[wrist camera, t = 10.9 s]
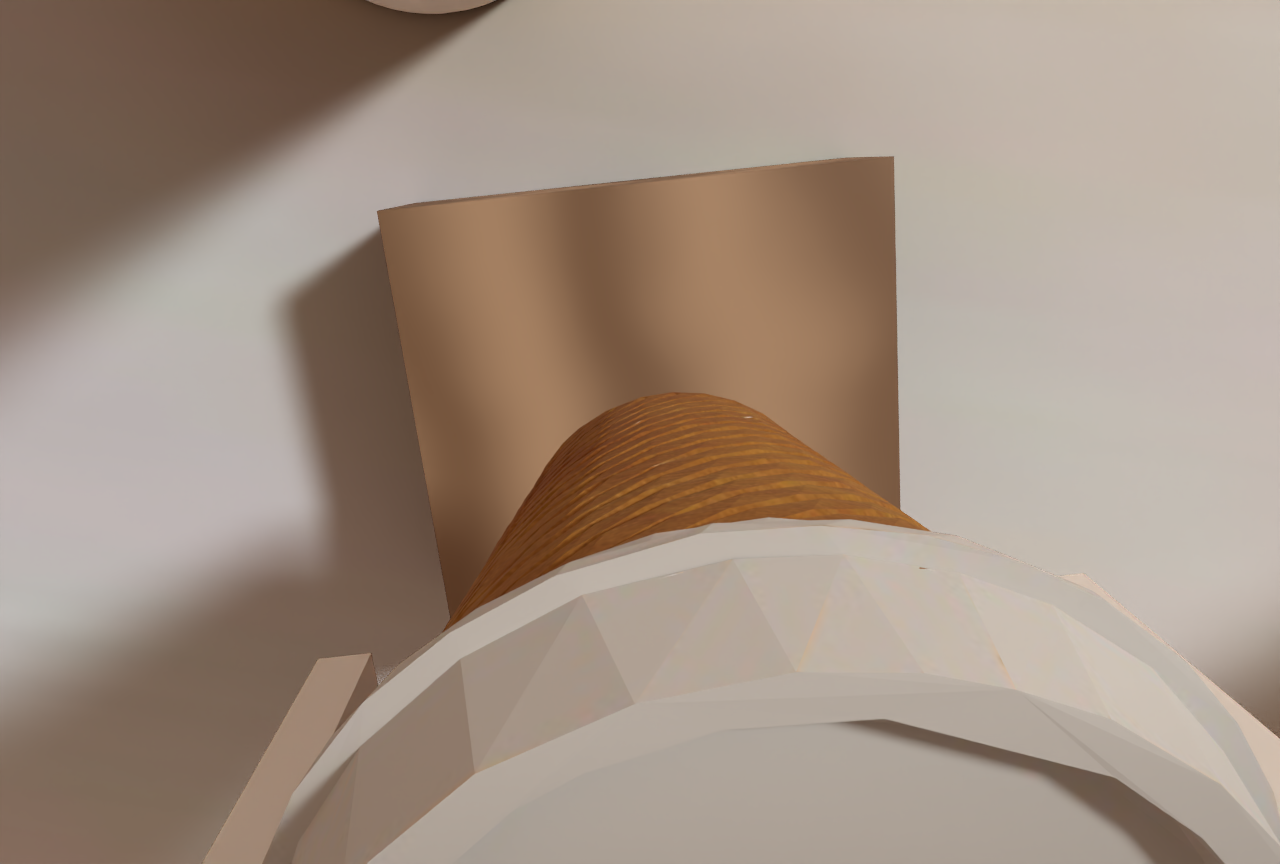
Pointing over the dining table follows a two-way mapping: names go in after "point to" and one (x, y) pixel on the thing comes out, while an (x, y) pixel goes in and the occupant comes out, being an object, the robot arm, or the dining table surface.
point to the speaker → (431, 5)
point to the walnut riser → (642, 323)
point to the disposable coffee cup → (772, 687)
